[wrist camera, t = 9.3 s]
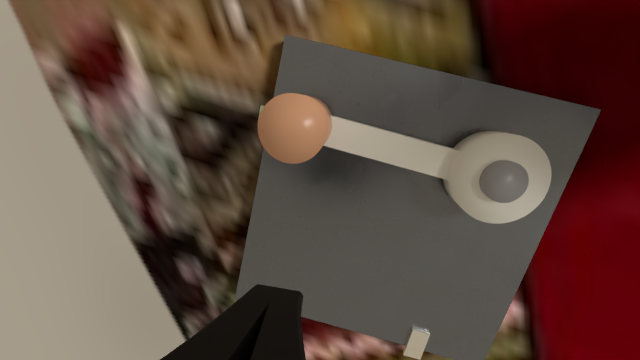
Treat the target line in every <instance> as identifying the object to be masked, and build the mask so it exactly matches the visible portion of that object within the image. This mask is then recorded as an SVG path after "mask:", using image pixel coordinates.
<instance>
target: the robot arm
mask: <svg viewBox="0 0 640 360" xmlns="http://www.w3.org/2000/svg"><path fill="white" fill-rule="evenodd" d="M302 304H303V294H302V293H301V292H300V291H296V290H290V289H284V288H278V287H272V286H266V285H261V284H257V285H255V286H254V287H253V288H251V289H250V290H249V291H248V292H247V293H246V294H244V295H243V296H242V297H241V298H240V299H239V300H237V301H236V302H235V303H234V304H233V305H232V306H230V307H229V308H228V309H227V310H226V311H224V312H223V313H222V314H221V315H219V316H218V317H217V318H216V319H214V320H213V321H212V322H211V323H209V324H208V325H207V326H206V327H204V328H203V329H202V330H200V331H199V332H198V333H197V334H195V335H194V336H192V337H191V338H190V339H188V340H187V341H186V342H184V343H183V344H182V345H180V346H179V347H177V348H176V349H175V350H173V351H172V352H170V353H169V354H168V355H166V356H165V357H163V358H162V359H160V360H306V359H305V352H304V344H303V337H302V326H301V312H302Z"/></svg>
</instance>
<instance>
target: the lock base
mask: <svg viewBox="0 0 640 360" xmlns="http://www.w3.org/2000/svg"><path fill="white" fill-rule="evenodd" d="M285 93H297V94H302V95H307V96H311V97H315V98H317V99H319V100H321V101H322V102H324V103H325V104H326V105H327V107H328V108H329V110H330V112H331V114H332V115H333V116H337V117H341V118H344V119H348V120H352V121H355V122H359V123H363V124H366V125H370V126H374V127H377V128H381V129H385V130H388V131H392V132H396V133H399V134H403V135H407V136H410V137H414V138H418V139H421V140H425V141H428V142H432V143H436V144H439V145H443V146H447V147H450V148H454V147H455V146H456V145H457V144H458V143H459V142H460V141H462V140H463V139H465V138H466V137H468V136H470V135H472V134H475V133H478V132H483V131H499V132H505V133H510V134H516V135H521V136H524V137H527V138H529V139H531V140H532V141H534V142H535V143H537V144H538V145H539V146H540V147H541V148H542V149H543V150H544V152H545V153H546V155H547V157H548V159H549V162H550V165H551V183H550V187H549V189H548V192H547V194H546V196H545V197H544V199H543V200H542V202H541V203H540V204H539V205H538V206H537V207H536V208H535V209H534V210H533V211H532V212H531V213H529V214H528V215H526V216H524V217H522V218H520V219H518V220H515V221H512V222H508V223H502V224H493V223H486V222H482V221H479V220H477V219H475V218H473V217H471V216H470V215H468V214H467V213H466V212H465V211H464V210H463V209H462V208H461V207H460V206H459V205H458V204H457V203H455V202H454V201H453V200H452V198H451V197H450V196H449V195H448V193H447V191H446V189H445V186H444V182H443V179H442V178H438V177H435V176H431V175H428V174H424V173H420V172H417V171H413V170H410V169H406V168H402V167H399V166H395V165H392V164H388V163H384V162H381V161H377V160H374V159H370V158H366V157H363V156H359V155H356V154H352V153H348V152H345V151H341V150H338V149H334V148H330V147H327V146H323V147H322V148H321V149H320V151H319V152H318V153H317V154H316V155H315V156H314V157H312V158H311V159H309V160H307V161H305V162H302V163H297V164H290V163H284V162H281V161H279V160H277V159H275V158H273V157H272V156H271V155H270V154H269V153H268V152H267V151H266V150H265V149H263V154H262V160H261V165H260V170H259V175H258V181H257V186H256V191H255V196H254V202H253V207H252V212H251V217H250V223H249V228H248V233H247V238H246V244H245V249H244V254H243V259H242V265H241V270H240V275H239V280H238V286H237V291H236V296H235V298H237V299H240V298H241V297H242V296H243V295H244V294H246V293H247V292H248V291H249V290H250V289H251V288H253V287H254V286H255V285H257V284H261V285H266V286H272V287H278V288H284V289H290V290H296V291H300V292H301V293H302V294H303V304H302V312H301V316H302V317H305V318H309V319H312V320H316V321H319V322H323V323H327V324H330V325H334V326H337V327H341V328H344V329H348V330H352V331H355V332H359V333H362V334H366V335H369V336H373V337H377V338H380V339H384V340H387V341H391V342H394V343H398V344H402V345H405V348H404V351H403V355H405V356H409V357H412V358H416V359H419V360H420V359H421V356H422V354H423V351H427V352H430V353H434V354H437V355H441V356H444V357H448V358H452V359H455V360H485V358H486V355H487V353H488V351H489V349H490V347H491V345H492V343H493V341H494V338H495V336H496V334H497V332H498V330H499V328H500V326H501V323H502V321H503V319H504V317H505V315H506V313H507V311H508V308H509V306H510V304H511V302H512V300H513V298H514V296H515V293H516V291H517V289H518V287H519V285H520V283H521V281H522V278H523V276H524V274H525V272H526V270H527V268H528V266H529V263H530V261H531V259H532V257H533V255H534V253H535V251H536V248H537V246H538V244H539V242H540V240H541V238H542V236H543V233H544V231H545V229H546V227H547V225H548V223H549V221H550V218H551V216H552V214H553V212H554V210H555V208H556V206H557V203H558V201H559V199H560V197H561V195H562V193H563V191H564V188H565V186H566V184H567V182H568V180H569V178H570V176H571V173H572V171H573V169H574V167H575V165H576V163H577V161H578V158H579V156H580V154H581V152H582V150H583V148H584V146H585V143H586V141H587V139H588V137H589V135H590V133H591V131H592V128H593V126H594V124H595V122H596V120H597V118H598V116H599V113H600V111H601V109H596V108H592V107H588V106H584V105H580V104H575V103H571V102H567V101H563V100H559V99H554V98H550V97H546V96H542V95H538V94H533V93H529V92H525V91H521V90H516V89H512V88H508V87H504V86H500V85H495V84H491V83H487V82H483V81H479V80H474V79H470V78H466V77H462V76H458V75H453V74H449V73H445V72H441V71H437V70H432V69H428V68H424V67H420V66H416V65H411V64H407V63H403V62H399V61H395V60H390V59H386V58H382V57H378V56H374V55H369V54H365V53H361V52H357V51H352V50H348V49H344V48H340V47H336V46H331V45H327V44H323V43H319V42H315V41H310V40H306V39H302V38H298V37H294V36H289V35H285V39H284V44H283V49H282V55H281V60H280V65H279V70H278V76H277V81H276V86H275V91H274V97H276V96H278V95H281V94H285ZM274 97H273V98H274ZM263 108H264V106H263V105H261V107H260V112H259V116H260V113H261V111H262V109H263ZM258 119H259V118H258ZM257 125H258V124H257Z"/></svg>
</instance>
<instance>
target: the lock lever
mask: <svg viewBox="0 0 640 360" xmlns="http://www.w3.org/2000/svg"><path fill="white" fill-rule="evenodd" d="M258 135H259V139H260V142H261V144H262V146H263V147H264V149H265V150H266V151H267V152H268V153H269V154H270V155H271V156H272V157H273V158H275V159H277V160H279V161H281V162H284V163H290V164H297V163H302V162H305V161H307V160H309V159H311V158H312V157H314V156H315V155H316V154H317V153H318V152H319V151H320V149H321V148H322V147H323V146H327V147H330V148H334V149H338V150H341V151H345V152H348V153H352V154H356V155H359V156H363V157H366V158H370V159H374V160H377V161H381V162H384V163H388V164H392V165H395V166H399V167H402V168H406V169H410V170H413V171H417V172H420V173H424V174H428V175H431V176H435V177H438V178H442V179H443V182H444V186H445V189H446V191H447V193H448V195H449V196H450V197H451V198H452V200H453V201H454V202H455V203H457V204H458V205H459V206H460V207H461V208H462V209H463V210H464V211H465V212H466V213H467V214H468V215H470V216H471V217H473V218H475V219H477V220H479V221H482V222H486V223H493V224H502V223H508V222H512V221H515V220H518V219H520V218H522V217H524V216H526V215H528V214H529V213H531V212H532V211H533V210H534V209H535V208H536V207H537V206H538V205H539V204H540V203H541V202H542V200H543V199H544V197H545V196H546V194H547V192H548V189H549V187H550V183H551V165H550V162H549V159H548V157H547V155H546V153H545V152H544V150H543V149H542V148H541V147H540V146H539V145H538V144H537V143H535V142H534V141H532V140H531V139H529V138H527V137H524V136H521V135H516V134H510V133H505V132H499V131H483V132H478V133H475V134H472V135H470V136H468V137H466V138H465V139H463V140H462V141H460V142H459V143H458V144H457V145H456V146H455V147H454V148H450V147H447V146H443V145H439V144H436V143H432V142H428V141H425V140H421V139H418V138H414V137H410V136H407V135H403V134H399V133H396V132H392V131H388V130H385V129H381V128H377V127H374V126H370V125H366V124H363V123H359V122H355V121H352V120H348V119H344V118H341V117H337V116H333V115H332V114H331V112H330V110H329V108H328V107H327V105H326V104H325V103H324V102H322V101H321V100H319V99H317V98H315V97H311V96H307V95H302V94H297V93H285V94H281V95H278V96H276V97H274V98H273V99H271V100H270V101H269V102H268V103H267V104H266V105H265V106H264V108H263V109H262V111H261V113H260V116H259V119H258Z"/></svg>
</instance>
